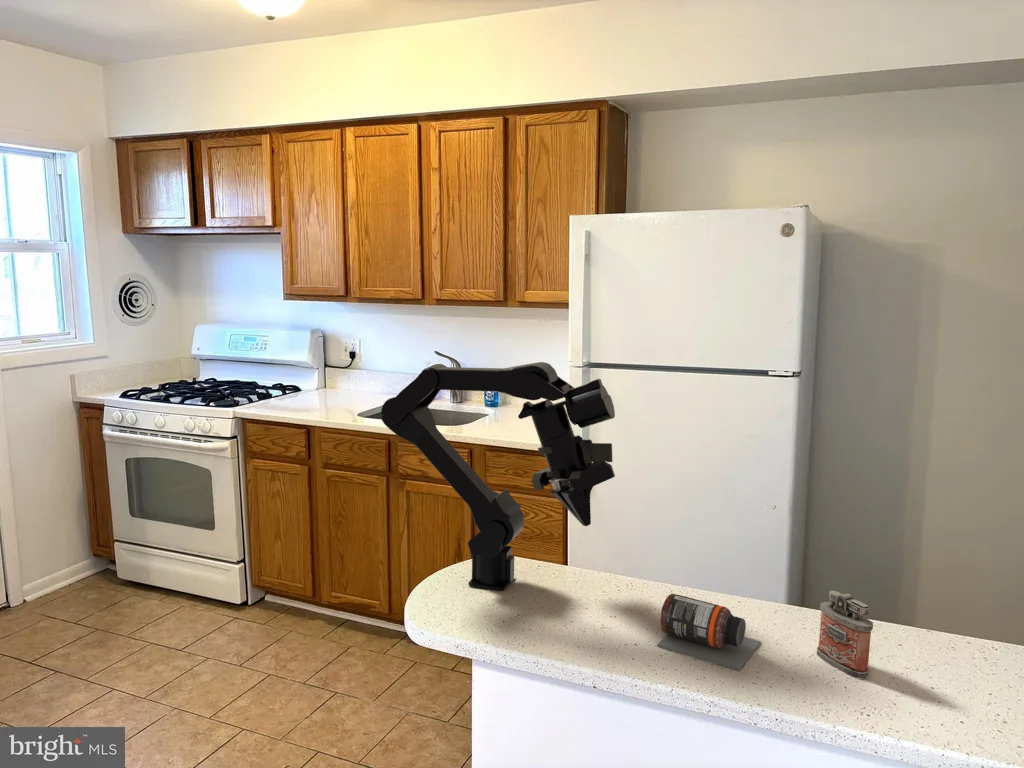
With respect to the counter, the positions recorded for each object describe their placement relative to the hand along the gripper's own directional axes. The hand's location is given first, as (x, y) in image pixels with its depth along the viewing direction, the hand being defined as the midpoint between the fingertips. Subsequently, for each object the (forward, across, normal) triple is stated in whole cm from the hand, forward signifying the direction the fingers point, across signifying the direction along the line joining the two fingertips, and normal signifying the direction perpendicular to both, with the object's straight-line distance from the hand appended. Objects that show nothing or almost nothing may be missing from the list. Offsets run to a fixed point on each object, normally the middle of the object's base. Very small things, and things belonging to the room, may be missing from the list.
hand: (587, 525), depth 125 cm
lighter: (+26, -29, -16) cm, 42 cm away
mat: (+19, -18, -4) cm, 26 cm away
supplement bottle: (+14, -13, -1) cm, 19 cm away
